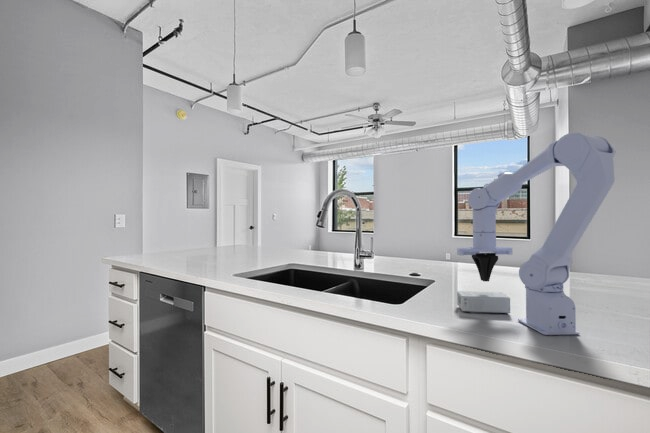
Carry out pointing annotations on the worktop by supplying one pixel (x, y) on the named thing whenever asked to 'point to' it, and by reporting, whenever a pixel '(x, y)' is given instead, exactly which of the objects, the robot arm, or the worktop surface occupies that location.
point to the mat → (481, 312)
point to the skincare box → (483, 301)
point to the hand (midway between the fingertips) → (484, 280)
